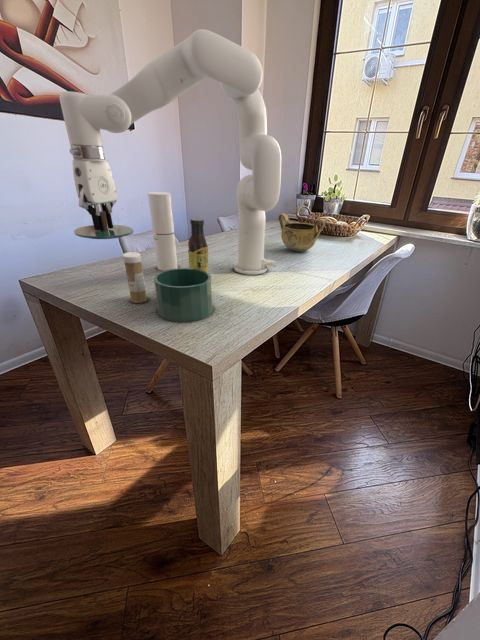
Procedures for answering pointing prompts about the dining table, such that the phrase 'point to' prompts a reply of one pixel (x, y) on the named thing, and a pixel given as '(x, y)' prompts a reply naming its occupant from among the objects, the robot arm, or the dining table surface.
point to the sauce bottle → (198, 246)
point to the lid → (106, 234)
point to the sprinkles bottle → (135, 276)
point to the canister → (183, 294)
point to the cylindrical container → (163, 229)
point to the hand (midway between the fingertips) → (104, 228)
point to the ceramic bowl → (299, 234)
